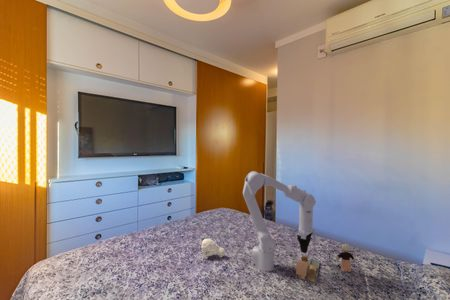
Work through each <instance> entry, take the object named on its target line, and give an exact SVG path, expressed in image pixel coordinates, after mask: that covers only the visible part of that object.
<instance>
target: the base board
mask: <svg viewBox="0 0 450 300" xmlns="http://www.w3.org/2000/svg"><path fill="white" fill-rule="evenodd" d="M300 261H302V258H301V259H300ZM310 264H312V265H316V266H317V271H316V277H315V282H312V281H308V280H307V276H308V272H307V276H305V279H301V278H298V274H296V273H295V278H296V279H299V280H303V281H306V282H309V283H313V284H317V281H318V276H319V270H320V269H319V268H320V264H321V261H314V260H312V259H311V258H310V259H308V268H310Z"/></svg>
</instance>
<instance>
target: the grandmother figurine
mask: <svg viewBox="0 0 450 300" xmlns="http://www.w3.org/2000/svg"><path fill="white" fill-rule="evenodd" d="M341 250H342V252H339V253H338V254H337V256H336V261H339V260H340V259H341V271H342V272H344V273H346V272H347V273H351V272H352V263H351V260H352V262H353V263H356V260H355V257H354V255H353V254H352V253H351V252H350V250H351V247H350V245H349V243H343V244H342V245H341Z"/></svg>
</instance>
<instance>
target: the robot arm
mask: <svg viewBox="0 0 450 300" xmlns="http://www.w3.org/2000/svg"><path fill="white" fill-rule="evenodd" d="M268 186H271V187H272V188H275V189H276V190H279V191H281V192H283V193H284V196H285V197H287V198H288V199H291V200H292V201H295V202H296V203H299V211H298V212H299V217H298V218H299V219H298V232H299V233H300V234H299V235H296V236H297V237H296V238H297V241H298V243H299V249H300V251H301V253H302V254H303V253H304V254H307V251H308V248H309V246H310V242H311V241H312V236H313V233H316V230H315V229H313V226H314V225H313V223H314V221H313V220H314V219H313V216H314V213H313V212H314V206H315V205H316V200H315V199H316V198H315V197H314V195H312V194H310V193H309V192H307V191H306V190H304V189H303V190H302V189H301V188H298V186H297V185H295V184H288V185H286V184H284V183H283V182H280V181H278V180H277V179H275V178H273V177H271V176H269V175H267V174H264V173H261V172H260V173H259V172H258V171H255V170H252V171H250V172H248V174H246V177H245V178H244V185H243V189H242V195H243V196H242V197H243V198H244V201H245V203H246V206H247V209H248V212H249V214H250V217H251V219H252V221H253V225H254V227H255V229H256V233H257V237H256V238H257V241H258V243H259V244H258V246H257V245H256V246H254V247H253V249H252V253H251V267H250V269H251V270H254V268H255V269H258V270H260V271H262V272H271V271H273V270H274V268H275V266H274V265H275V249H276V246H277V245H276V241H275V240H274V239H273V238H272V236H271V233H270V232H269V231H268V228H267V225H266V223H265V220H264V218H263V214H262V211H261V210H260V207H259V204H258V202H257V199H256V196H255V195H256V194H257V192H258V191H259V190H260V189H261V188H262V187H268Z"/></svg>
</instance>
